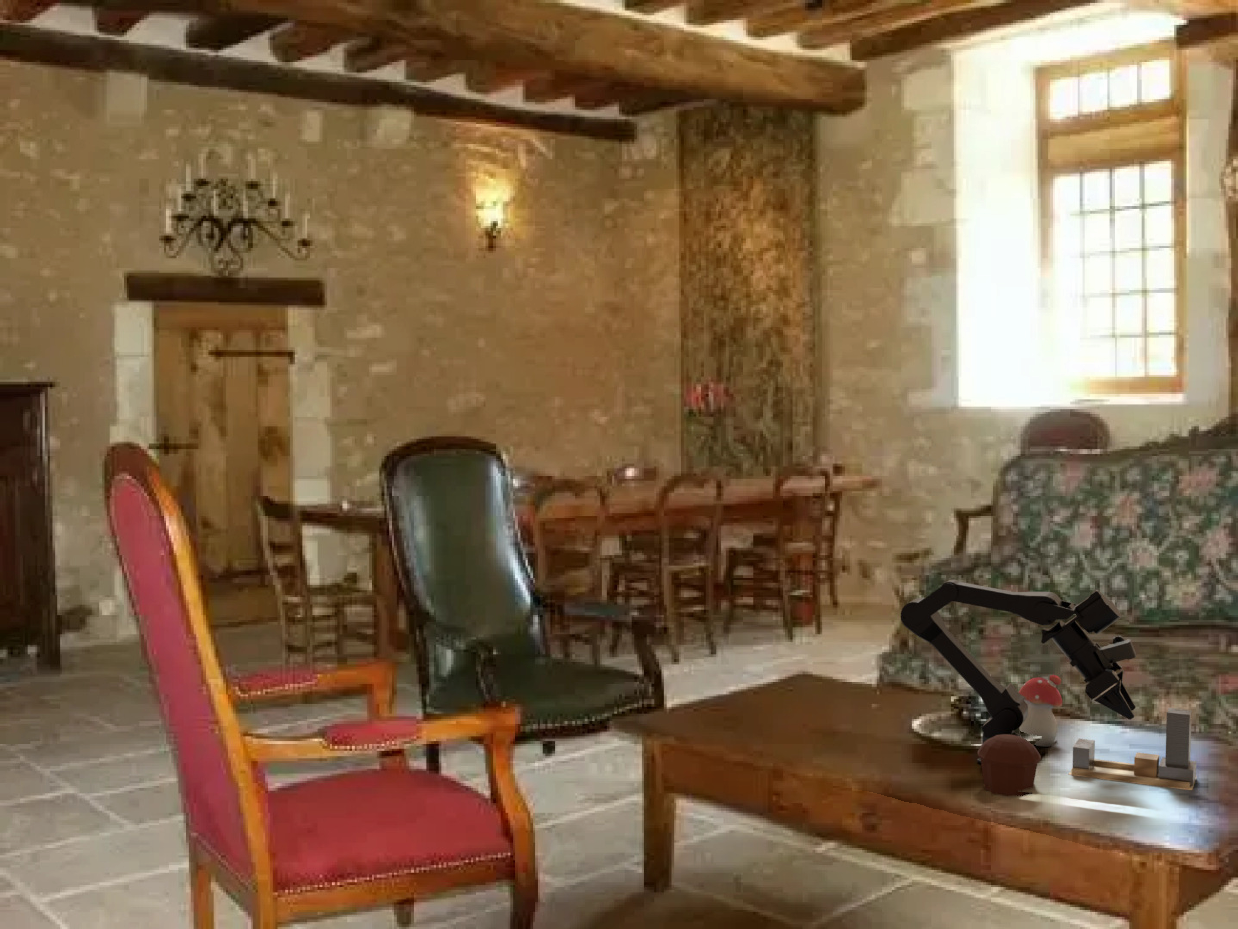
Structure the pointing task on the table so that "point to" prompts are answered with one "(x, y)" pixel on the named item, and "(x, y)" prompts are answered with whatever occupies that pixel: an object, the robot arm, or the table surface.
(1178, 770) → the block
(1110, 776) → the wooden tray
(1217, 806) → the table surface
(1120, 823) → the table surface
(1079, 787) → the table surface
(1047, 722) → the decorative ornament
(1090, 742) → the block
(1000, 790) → the muffin
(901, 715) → the table surface
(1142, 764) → the walnut block
